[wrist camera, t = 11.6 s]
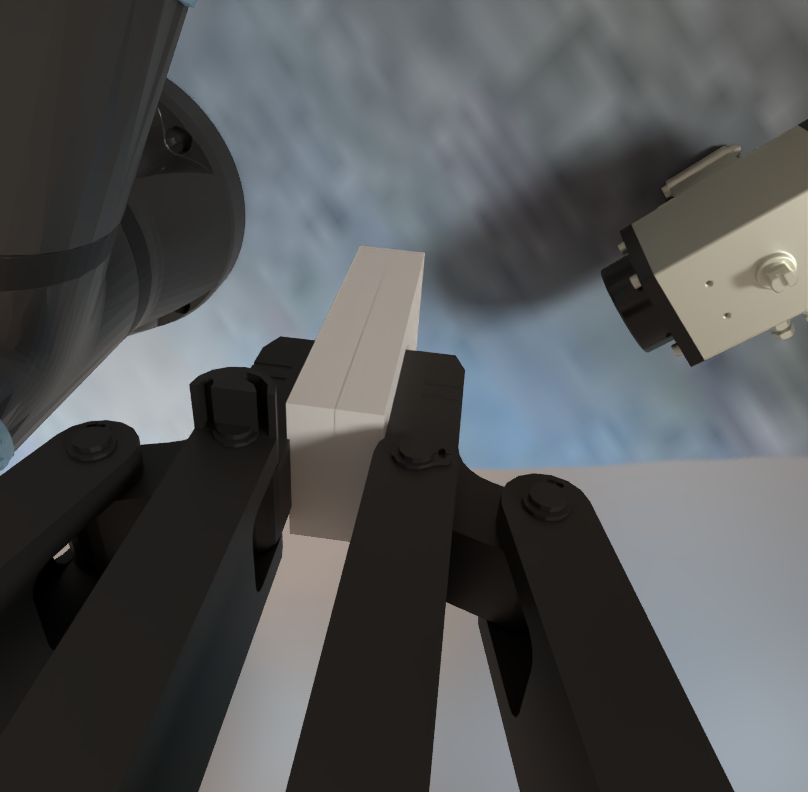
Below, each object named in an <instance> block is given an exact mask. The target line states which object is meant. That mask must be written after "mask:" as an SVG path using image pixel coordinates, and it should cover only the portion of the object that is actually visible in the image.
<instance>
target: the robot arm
mask: <svg viewBox="0 0 808 792" xmlns="http://www.w3.org/2000/svg"><path fill="white" fill-rule="evenodd" d="M196 1H197V0H0V471H1V470H3V469H4V468H5V467H6V466H7V465H8V463H9V461H10V459H11V458H12V457H13V456H14V452H15V451H16V450H17V449H18V448H19V447H20V446H21V445H22V444H23V443H24V441H25V440H26V439H27V438H28V437H29V436H30V435H31V434H32V433H33V432H34V431H35V430H36V429H37V428H38V427H39V426H40V425H41V424H42V423H43V422H44V421H45V420H46V419H47V418H48V417H49V416H50V415H51V414H52V413H53V412H54V411H55V410H56V409H57V408H58V407H59V406H60V405H61V404H62V403H63V401H64V400H65V399H66V398H67V397H68V396H69V395H70V394H71V393H72V392H73V391H74V390H75V389H76V388H77V387H78V386H79V385H80V384H81V383H82V382H83V381H84V380H85V379H86V378H87V377H88V376H89V375H90V374H91V373H92V372H93V371H94V370H95V369H96V368H97V367H98V366H99V365H100V364H101V363H102V362H103V360H104V359H105V358H106V357H107V356H108V355H109V354H110V353H111V352H112V351H113V350H114V349H115V348H116V347H117V346H118V345H119V344H120V343H121V342H122V341H123V340H124V339H125V338H126V337H127V336H130V335H133V334H136V333H139V332H143V331H146V330H149V329H152V328H155V327H158V326H162V325H165V324H168V323H171V322H174V321H176V320H178V319H181V318H183V317H185V316H186V315H188V314H190V313H191V312H193V311H194V310H196V309H197V308H199V307H200V306H201V305H202V304H203V303H205V302H206V301H207V300H208V299H209V298H210V297H211V295H212V294H213V293H214V292H215V291H216V290H217V289H218V287H219V286H220V285H221V284H222V283H223V282H224V280H225V279H226V278H227V276H228V275H229V273H230V272H231V270H232V268H233V267H234V265H235V263H236V260H237V258H238V255H239V253H240V250H241V246H242V242H243V237H244V229H245V203H244V196H243V190H242V185H241V181H240V178H239V174H238V171H237V168H236V166H235V163H234V161H233V158H232V156H231V153H230V151H229V149H228V147H227V145H226V143H225V142H224V140H223V138H222V137H221V135H220V133H219V132H218V130H217V129H216V127H215V126H214V124H213V123H212V122H211V120H210V119H209V118H208V116H207V115H206V114H205V113H204V111H203V110H202V109H201V108H200V107H199V106H198V105H197V104H196V103H195V101H194V100H193V99H192V98H191V97H190V96H188V95H187V94H186V93H185V92H184V91H183V90H182V89H181V88H179V87H178V86H177V85H176V84H174V83H173V82H172V81H170V80H169V79H168V78H166V77H167V73H168V70H169V67H170V64H171V61H172V58H173V55H174V51H175V48H176V45H177V42H178V39H179V36H180V33H181V29H182V26H183V23H184V20H185V17H186V14H187V11H188V7H192V8H193V7H194V6H195V3H196ZM424 257H425V253H423V252H414V251H405V250H396V249H387V248H378V247H369V246H360V247H359V249H358V251H357V254H356V256H355V258H354V260H353V262H352V264H351V266H350V268H349V271H348V273H347V275H346V277H345V279H344V281H343V283H342V285H341V287H340V290H339V292H338V294H337V296H336V298H335V300H334V302H333V304H332V307H331V309H330V311H329V313H328V315H327V317H326V319H325V321H324V323H323V326H322V328H321V330H320V332H319V334H318V336H317V338H316V340H306V339H298V338H289V337H281V336H280V337H279V338H277V339H276V340H274V341H272V342H271V343H269V344H268V345H266V346H265V347H263V348H262V350H261V352H260V353H259V355H258V357H257V358H256V360H255V362H254V365H252V367H251V368H247V367H226V368H220V369H215V370H211V371H209V372H207V373H204V374H202V375H200V376H198V377H197V378H196V379H195V380H194V381H192V382H191V383H190V384H189V385H190V393H191V401H192V410H193V418H194V426H195V429H194V430H193V432H192V433H191V435H190V437H189V438H188V439H186V440H183V441H176V442H169V443H157V444H145V445H140V440H139V436H138V435H137V433H136V432H135V430H134V429H133V428H132V427H130V426H128V425H126V424H124V423H121V422H115V421H109V420H103V421H90V422H86V423H82V424H79V425H75V426H72V427H70V428H68V429H66V430H65V431H63V432H61V433H59V434H57V435H56V436H54V437H53V438H52V439H50V440H49V441H48V442H46V443H45V444H43V445H42V446H41V447H39V448H38V449H37V450H35V451H34V452H32V453H31V454H30V455H28V456H27V457H26V458H24V459H23V460H21V461H20V462H19V463H17V464H16V465H15V466H13V467H12V468H10V469H9V470H8V471H6V472H5V473H4V474H2V475H1V476H0V792H198V791H199V788H200V785H201V782H202V780H203V777H204V774H205V771H206V768H207V766H208V763H209V760H210V757H211V754H212V751H213V749H214V745H215V743H216V740H217V737H218V734H219V732H220V729H221V726H222V723H223V720H224V718H225V715H226V712H227V709H228V706H229V704H230V701H231V698H232V695H233V692H234V689H235V687H236V684H237V681H238V678H239V676H240V673H241V670H242V667H243V664H244V661H245V659H246V656H247V653H248V650H249V648H250V645H251V642H252V639H253V636H254V633H255V631H256V627H257V625H258V622H259V620H260V617H261V614H262V611H263V608H264V605H265V603H266V600H267V597H268V594H269V591H270V589H271V586H272V583H273V580H274V577H275V575H276V571H277V569H278V566H279V563H280V560H281V558H282V549H283V541H282V531H283V528H284V525H285V523H286V520H287V518H288V515H289V514H290V516H289V518H290V533H291V534H297V535H304V536H311V537H319V538H326V539H333V540H341V541H348V542H350V544H349V548H348V552H347V556H346V560H345V564H344V568H343V571H342V575H341V579H340V583H339V587H338V591H337V595H336V598H335V603H334V606H333V610H332V614H331V618H330V622H329V626H328V630H327V633H326V637H325V642H324V645H323V649H322V653H321V656H320V660H319V664H318V668H317V672H316V676H315V680H314V684H313V687H312V691H311V695H310V699H309V703H308V707H307V711H306V714H305V718H304V722H303V726H302V730H301V734H300V738H299V742H298V746H297V750H296V753H295V757H294V761H293V765H292V769H291V773H290V776H289V781H288V784H287V789H286V792H429V786H430V775H431V764H432V752H433V740H434V730H435V719H436V708H437V697H438V686H439V674H440V662H441V651H442V641H443V629H444V618H445V617H444V616H445V606H446V602H447V603H450V604H452V605H454V606H456V607H458V608H461V609H463V610H466V611H468V612H470V613H472V614H474V615H477V616H478V625H479V629H480V633H481V637H482V641H483V645H484V649H485V653H486V657H487V661H488V665H489V669H490V673H491V677H492V681H493V685H494V690H495V693H496V698H497V702H498V706H499V709H500V713H501V717H502V722H503V725H504V730H505V733H506V737H507V742H508V746H509V750H510V753H511V758H512V762H513V765H514V770H515V774H516V778H517V782H518V786H519V789H520V792H734V790H733V788H732V786H731V784H730V782H729V780H728V778H727V776H726V774H725V772H724V770H723V768H722V766H721V764H720V762H719V760H718V758H717V756H716V754H715V752H714V750H713V748H712V746H711V744H710V742H709V740H708V738H707V736H706V734H705V732H704V730H703V728H702V726H701V724H700V722H699V719H698V717H697V715H696V714H695V711H694V710H693V708H692V706H691V704H690V702H689V699H688V698H687V695H686V693H685V692H684V689H683V687H682V685H681V684H680V681H679V679H678V677H677V675H676V674H675V671H674V669H673V668H672V665H671V663H670V661H669V659H668V657H667V655H666V653H665V651H664V649H663V648H662V645H661V643H660V641H659V639H658V637H657V635H656V633H655V631H654V629H653V627H652V625H651V623H650V621H649V619H648V617H647V615H646V613H645V611H644V609H643V607H642V605H641V603H640V601H639V599H638V597H637V595H636V593H635V591H634V589H633V587H632V585H631V583H630V581H629V579H628V577H627V575H626V573H625V571H624V569H623V567H622V565H621V563H620V561H619V559H618V557H617V555H616V553H615V551H614V549H613V547H612V545H611V543H610V541H609V539H608V537H607V535H606V533H605V531H604V529H603V527H602V525H601V523H600V521H599V519H598V517H597V515H596V513H595V511H594V509H593V507H592V504H591V503H590V501H589V500H588V498H587V497H586V496H585V495H584V493H583V492H582V491H581V490H580V489H578V488H577V487H576V486H574V485H572V484H571V483H570V482H568V481H566V480H563V479H560V478H557V477H555V476H552V475H544V474H535V473H534V474H528V475H522V476H518V477H516V478H514V479H513V480H511V481H509V482H508V483H507V484H506V485H505V487H503V486H500V485H498V484H495V483H492V482H490V481H488V480H486V479H483V478H481V477H479V476H478V475H476V474H475V473H474V472H472V471H471V470H470V469H469V468H468V467H467V466H466V465H465V464H464V463H463V461H462V459H461V457H460V455H459V449H458V444H459V432H460V421H461V410H462V398H463V386H464V375H465V370H464V368H463V366H462V365H461V363H460V362H459V360H458V358H457V357H456V355H447V354H439V353H431V352H422V351H416V346H417V335H418V324H419V313H420V302H421V291H422V280H423V269H424ZM68 543H69V545H70V548H69V549H68V550H67V551H66V552H65V553H64V554H63V555H61V556H60V557H58V558H56V559H55V560H54V558H53V557H54V556H55V555H56V554H57V553H58V552H59V551H60V550H61V549H62V548H64V547H65V546H66V545H67V544H68Z"/></svg>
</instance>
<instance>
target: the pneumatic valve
mask: <svg viewBox="0 0 808 792" xmlns="http://www.w3.org/2000/svg"><path fill="white" fill-rule="evenodd" d="M741 150H742V149H741V147H740V146H739V145H737V146H736V145H735V144H733V145H732V146H730V147H727V146H726V145H724V146H722V147H721V148H719V149H718V150H716V151H714V152H713V153H711V154H709V155H708V156H706V157H704V158H703V159H701V160H700V161H698V162H696V163H695V164H693V165H691V166H690V167H688V168H686V169H685V170H683V171H681V172H680V173H678V174H677V175H675V176H673V177H672V178H670V179H668V180H667V181H665V182H666V185H665V186H664V187H663V188H661V189H662V191H663V193H664V195H665V196H666V198H669V197H670V196H671V197H672V196H673V197H674V198H672V199H671V200H669V201H667V202H666V203H664V204H662V205H661V206H659V207H658V208H657V209H656V210H654V211H653V212H651V213H649V214H648V215H646V216H644V217H643V218H641V219H639V220H638V221H636V222H634V223H633V224H632V225H629V226H628V227H626V228H624V229H622V230H621V231H620V233H621V236H622V238H623V242H622V243H620V244H618V248H619V250H620V252H621V253H622V255H625V254H627V253H628V255H626V256H624V257H623V258H621V259H619V260H618V261H616V262H614V263H612V264H611V265H609V266H607V267H605V268H604V269H602V270H601V276H602V279H603V282H604V284H605V287H606V289H607V291H608V293H609V295H610V297H611V299H612V301H613V303H614V305H615V307H616V309H617V311H618V312H619V314H620V316H621V318H622V319H623V321H624V323H625V324H626V326H627V328H628V329H629V331H630V333H631V334H632V336H633V337H634V339H635V340H636V341H637V343H638V344H639V346H640V347H641V348H642V349H643V350H644V351H645V352H650V351H652V350H654V349H656V348H658V347H660V346H662V345H664V344H666V343H668V342H670V341H672V340H675V341H676V343H675V344H673V345H672V346H671V347H672V349H673V351H674V353H675V355H676V356H680V355H682V354H684V356H685V358H686V359H687V361H688V363H689V364H690V366H691V367H692V366H694V365H696V364H699V363H701V362H703V361H705V360H707V359H709V358H711V357H713V356H715V355H717V354H719V353H721V352H723V351H725V350H727V349H729V348H732V347H734V346H736V345H738V344H740V343H742V342H744V341H746V340H748V339H750V338H752V337H754V336H756V335H758V334H760V333H762V332H764V331H767V330H769V329H770V330H772V331H773V332H772V335H773V337H774V338H775V339H777V340H785V339H788V338H790V337H791V336H792V335H793V334H794V332H795V328H794V326H793V324H791V323H790V319H791V318H793V317H795V316H797V315H799V314H802V313H804V314H806V316H805V318H806V320H807V322H808V119H807V120H805V121H804V122H802V123H800V124H799V125H797V126H795V127H794V128H792V129H790V130H789V131H787V132H785V133H784V134H782V135H780V136H778V137H777V138H775V139H773V140H772V141H770V142H768V143H767V144H765V145H763V146H762V147H760V148H758V149H755V150H753V151H751V152H750V153H748V154H746V155H744V156H743V157H741V158H739V157H738V158H737V156H739V155H740V151H741Z"/></svg>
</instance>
